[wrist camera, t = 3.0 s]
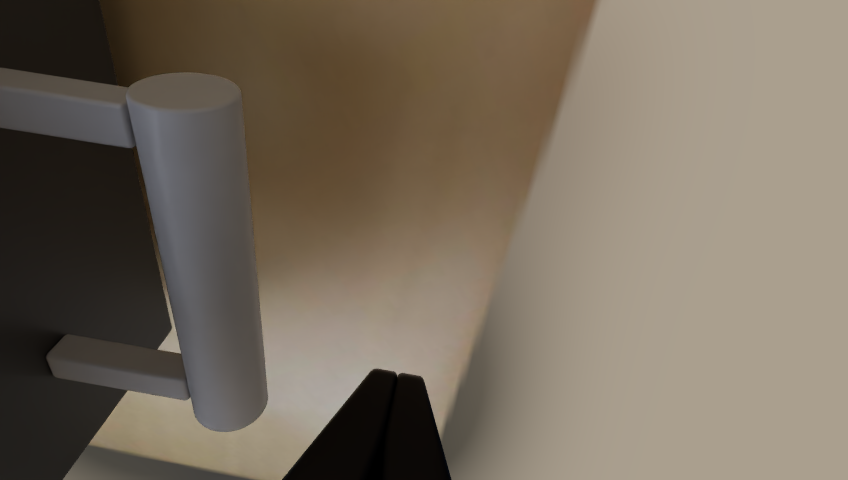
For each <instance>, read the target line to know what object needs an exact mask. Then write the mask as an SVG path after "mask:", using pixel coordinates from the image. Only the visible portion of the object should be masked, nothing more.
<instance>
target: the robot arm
mask: <svg viewBox="0 0 848 480" xmlns="http://www.w3.org/2000/svg"><path fill="white" fill-rule="evenodd" d="M282 480H451V477H450V473H449V470H448V466H447V462H446V459H445V455H444V452H443V448H442V444H441V440H440V437H439V433H438V430H437V426H436V422H435V419H434V415H433V412H432V408H431V404H430V401H429V397H428V393H427V390H426V386H425V383H424V380H423V378H422V377H421V376H417V375H411V374H405V373H401V374H399V375H398V377H397V374H396V373H395V372H394V371H388V370H382V369H373V370H372V371H371V372H370V373H369V374H368V375H367V376H366V378H365V379H364V380H363V381H362V383H361V384H360V385H359V386H358V387H357V389H356V390H355V391H354V392H353V394H352V395H351V396H350V397H349V398H348V400H347V401H346V402H345V403H344V405H343V406H342V407H341V408H340V409H339V411H338V412H337V413H336V414H335V416H334V417H333V418H332V419H331V420H330V422H329V423H328V424H327V425H326V426H325V428H324V429H323V430H322V431H321V433H320V434H319V435H318V436H317V437H316V439H315V440H314V441H313V442H312V444H311V445H310V446H309V447H308V448H307V450H306V451H305V452H304V453H303V455H302V456H301V457H300V458H299V459H298V461H297V462H296V463H295V464H294V466H293V467H292V468H291V469H290V470H289V472H288V473H287V474H286V475H285V477H284V478H283V479H282Z"/></svg>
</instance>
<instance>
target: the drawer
mask: <svg viewBox="0 0 848 480" xmlns="http://www.w3.org/2000/svg"><path fill="white" fill-rule="evenodd" d="M135 146H137V151H138V155H139V160H140V165H141V169H142V174H143V179H144V183H145V188H146V192H147V197H148V202H149V206H150V211H151V216H152V220H153V225H154V229H155V234H156V239H157V243H158V248H159V253H160V257H161V262H162V266H163V271H164V276H165V280H166V285H167V290H168V294H169V299H170V303H171V308H172V313H173V317H174V322H175V327H176V331H177V336H178V340H179V345H180V350H181V354H179V353H173V352H168V351H162V350H157V349H158V348H159V346H160V345H161V343H162V342H163V341H164V339H165V338H166V337H167V335H168V334H169V332H170V331H171V329H172V326H171V321H170V317H169V312H168V308H167V303H166V299H165V294H164V290H163V285H162V281H161V276H160V272H159V267H158V263H157V258H156V254H155V249H154V245H153V240H152V236H151V231H150V227H149V222H148V218H147V213H146V209H145V204H144V200H143V195H142V191H141V186H140V182H139V177H138V173H137V168H136V164H135V159H134V155H133V150H132V148H133V147H135ZM127 390H129V391H135V392H141V393H146V394H152V395H158V396H163V397H169V398H174V399H180V400H188V399H189V398H190V396H191V401H192V405H193V410H194V414H195V417H196V418H197V420H198V421H199V422H200V423H201V424H202V425H203V426H204V427H206V428H208V429H210V430H213V431H219V432H229V431H235V430H239V429H241V428H244V427H246V426H248V425H250V424H251V423H252V422H254V421H255V420H256V419H257V418H258V417H259V416H260V415H261V414H262V412H263V411H264V409H265V407H266V404H267V400H268V393H267V381H266V370H265V358H264V347H263V335H262V324H261V313H260V301H259V290H258V278H257V267H256V255H255V244H254V232H253V221H252V209H251V198H250V187H249V175H248V164H247V152H246V141H245V129H244V118H243V106H242V95H241V91H240V89H239V87H238V86H237V85H236V84H235V83H234V82H232V81H230V80H228V79H226V78H223V77H219V76H215V75H210V74H203V73H190V72H181V73H167V74H160V75H155V76H151V77H147V78H144V79H141V80H139V81H137V82H135V83H133V84H132V85H131V86H129V88H128V87H122V86H118V82H117V78H116V73H115V69H114V64H113V60H112V55H111V51H110V46H109V42H108V37H107V33H106V28H105V24H104V19H103V15H102V10H101V6H100V1H99V0H0V480H63V478H64V477H65V475H66V474H67V473H68V471H69V470H70V469H71V467H72V466H73V464H74V463H75V462H76V460H77V459H78V458H79V456H80V455H81V453H82V452H83V451H84V449H85V448H86V447H87V445H88V444H89V443H90V441H91V440H92V438H93V437H94V436H95V434H96V433H97V432H98V430H99V429H100V427H101V426H102V425H103V423H104V422H105V421H106V419H107V418H108V416H109V415H110V414H111V412H112V411H113V410H114V408H115V407H116V405H117V404H118V403H119V401H120V400H121V399H122V397H123V396H124V394H125V393H126V392H127Z"/></svg>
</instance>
